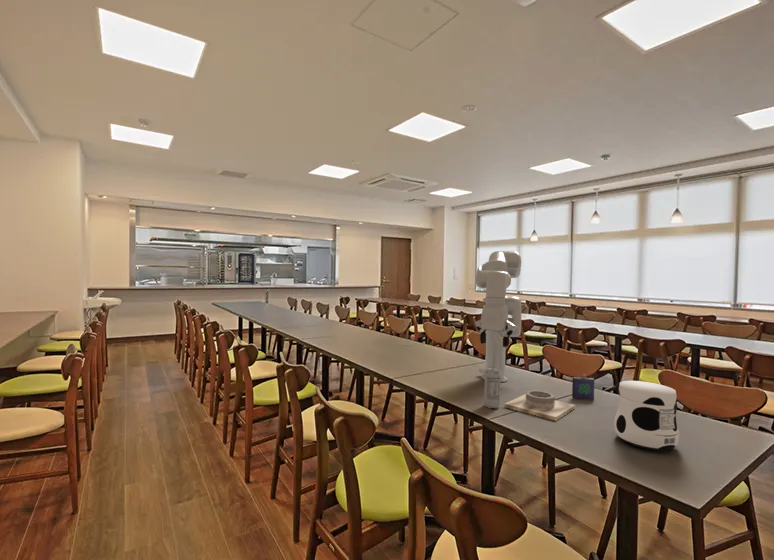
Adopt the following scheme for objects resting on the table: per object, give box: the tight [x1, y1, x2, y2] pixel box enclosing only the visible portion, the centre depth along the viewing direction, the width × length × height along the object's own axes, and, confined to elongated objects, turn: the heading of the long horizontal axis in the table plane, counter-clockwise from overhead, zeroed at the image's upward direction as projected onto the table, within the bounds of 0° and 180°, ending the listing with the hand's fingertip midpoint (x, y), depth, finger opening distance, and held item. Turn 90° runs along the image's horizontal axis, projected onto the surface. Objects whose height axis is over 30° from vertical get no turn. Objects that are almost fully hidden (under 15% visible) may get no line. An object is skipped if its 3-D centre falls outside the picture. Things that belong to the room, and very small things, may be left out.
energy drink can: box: [483, 368, 501, 409], centre depth 156 cm, size 6×6×15 cm
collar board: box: [504, 389, 576, 422], centre depth 156 cm, size 20×20×6 cm
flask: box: [571, 373, 595, 400], centre depth 170 cm, size 9×3×11 cm, turn 87°
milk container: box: [613, 380, 680, 452], centre depth 125 cm, size 17×17×18 cm
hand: (494, 344), depth 156 cm, fingers open, 9 cm apart
